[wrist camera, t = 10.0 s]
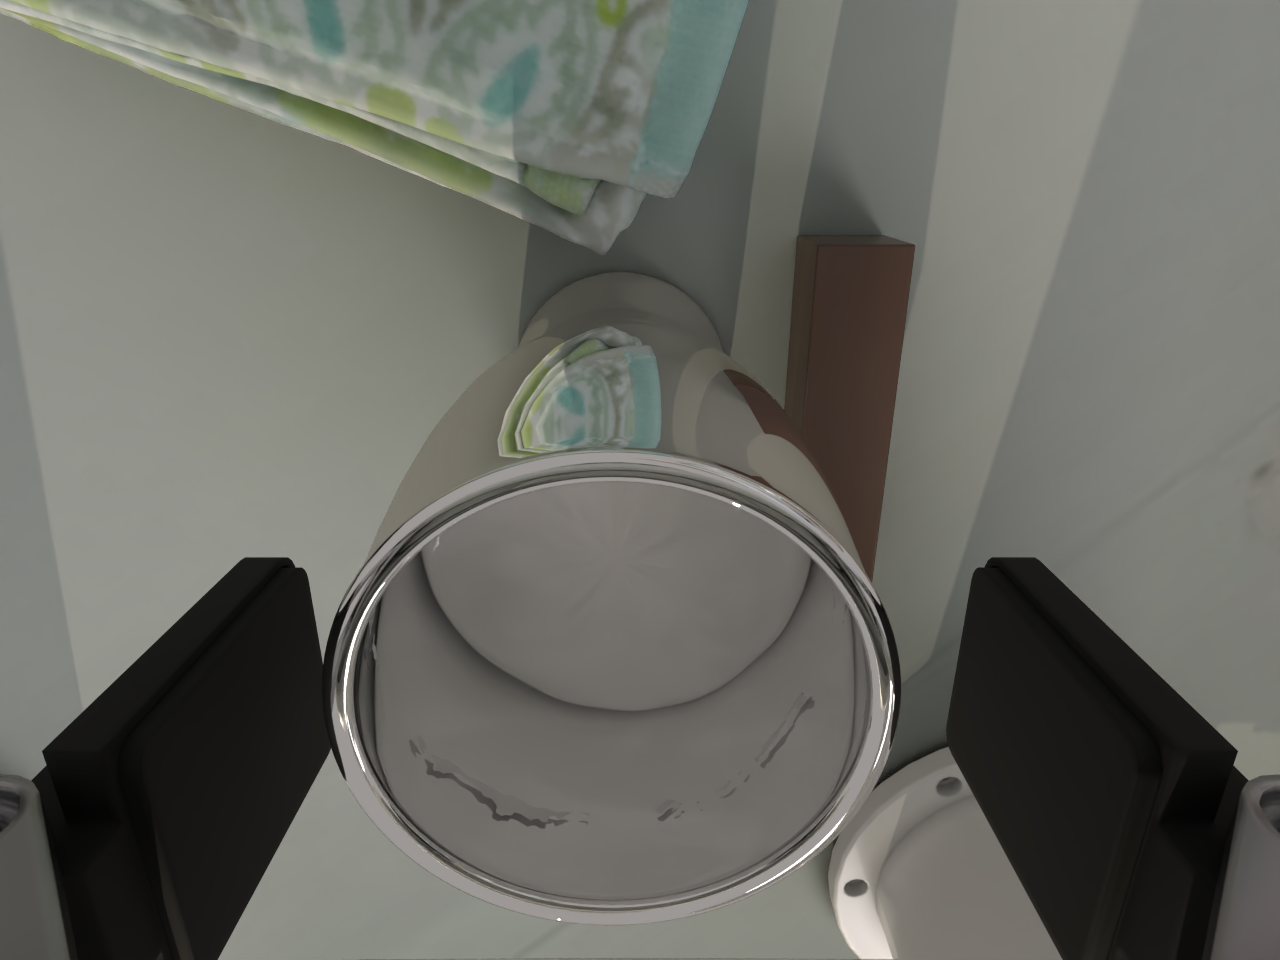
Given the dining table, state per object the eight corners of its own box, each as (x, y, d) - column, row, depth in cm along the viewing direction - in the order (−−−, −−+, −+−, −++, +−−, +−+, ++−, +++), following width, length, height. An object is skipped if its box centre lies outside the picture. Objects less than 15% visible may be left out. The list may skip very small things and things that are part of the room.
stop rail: (884, 235, 21) (916, 244, 19) (847, 560, 25) (870, 601, 23) (796, 235, 21) (817, 244, 19) (773, 561, 25) (787, 602, 23)
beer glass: (644, 200, 21) (682, 284, 7) (787, 400, 23) (1030, 765, 9) (449, 356, 22) (164, 678, 9) (600, 530, 25) (568, 1013, 11)
